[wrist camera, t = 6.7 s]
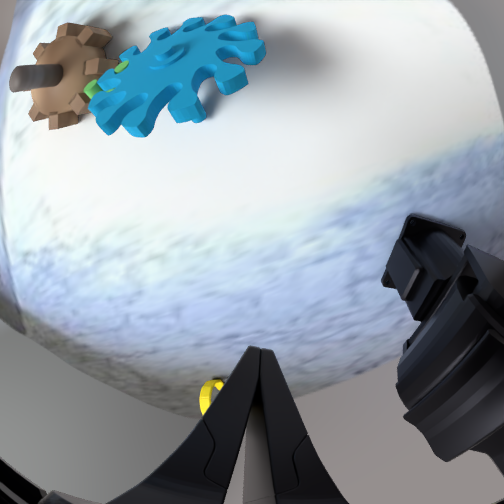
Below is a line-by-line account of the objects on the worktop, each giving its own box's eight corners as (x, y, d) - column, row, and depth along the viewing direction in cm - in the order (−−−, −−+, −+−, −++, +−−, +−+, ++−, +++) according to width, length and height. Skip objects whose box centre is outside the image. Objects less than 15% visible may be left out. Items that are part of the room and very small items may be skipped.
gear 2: (272, 0, 10) (239, 105, 8) (283, 68, 16) (264, 186, 14) (118, 33, 13) (44, 140, 10) (150, 82, 18) (102, 185, 16)
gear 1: (125, 16, 12) (70, -2, 6) (113, 121, 16) (54, 137, 11) (48, 39, 12) (-6, 40, 7) (42, 127, 17) (-12, 146, 11)
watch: (240, 393, 33) (236, 433, 28) (222, 394, 33) (216, 433, 29) (219, 371, 30) (211, 416, 25) (199, 373, 30) (190, 416, 26)
